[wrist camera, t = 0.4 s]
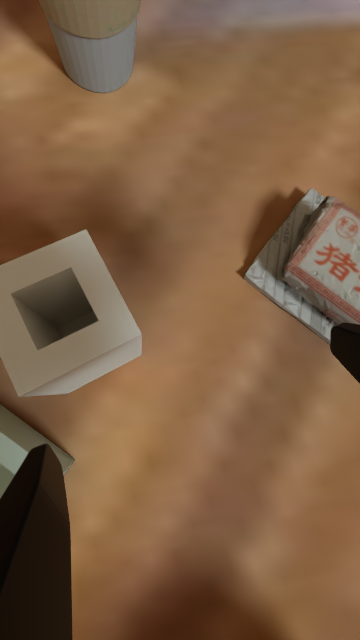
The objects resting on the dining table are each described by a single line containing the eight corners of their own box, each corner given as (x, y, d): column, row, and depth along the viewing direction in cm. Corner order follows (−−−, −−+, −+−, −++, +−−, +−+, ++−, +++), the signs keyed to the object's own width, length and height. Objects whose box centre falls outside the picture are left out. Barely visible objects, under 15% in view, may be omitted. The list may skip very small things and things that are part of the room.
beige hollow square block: (141, 355, 23) (141, 333, 14) (68, 393, 22) (18, 396, 13) (106, 288, 23) (86, 229, 15) (34, 322, 22) (-35, 279, 14)
